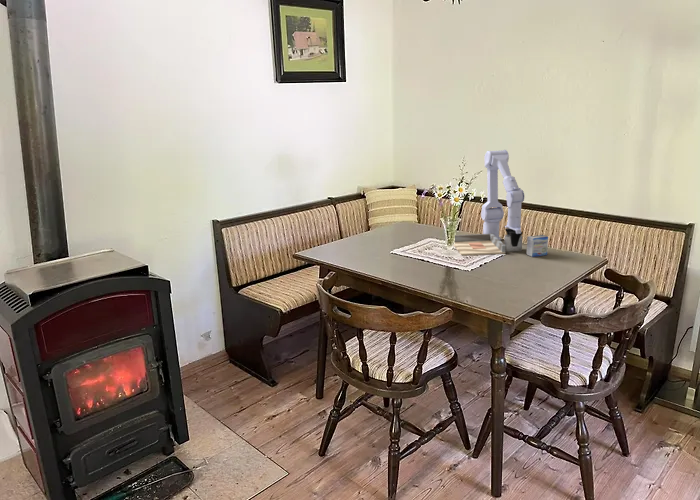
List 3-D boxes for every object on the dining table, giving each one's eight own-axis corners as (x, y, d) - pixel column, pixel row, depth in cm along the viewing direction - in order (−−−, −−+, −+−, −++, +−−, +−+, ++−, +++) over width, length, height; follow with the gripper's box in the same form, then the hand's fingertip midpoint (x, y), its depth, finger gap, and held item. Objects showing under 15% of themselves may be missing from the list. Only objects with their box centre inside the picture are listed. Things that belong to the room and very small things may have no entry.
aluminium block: (504, 249, 253) (504, 234, 251) (519, 248, 253) (519, 234, 251) (506, 251, 249) (507, 236, 247) (521, 250, 249) (522, 236, 247)
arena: (451, 242, 267) (451, 235, 266) (492, 240, 267) (492, 233, 266) (461, 255, 246) (461, 247, 245) (505, 253, 246) (505, 245, 245)
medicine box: (531, 257, 239) (532, 238, 237) (526, 254, 244) (527, 236, 241) (547, 255, 241) (548, 236, 239) (541, 252, 246) (542, 234, 243)
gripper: (501, 213, 254) (500, 241, 257) (510, 220, 240) (509, 249, 243) (516, 212, 254) (514, 240, 257) (526, 219, 240) (524, 249, 243)
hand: (513, 245), depth 250 cm, fingers closed on aluminium block, 4 cm apart
